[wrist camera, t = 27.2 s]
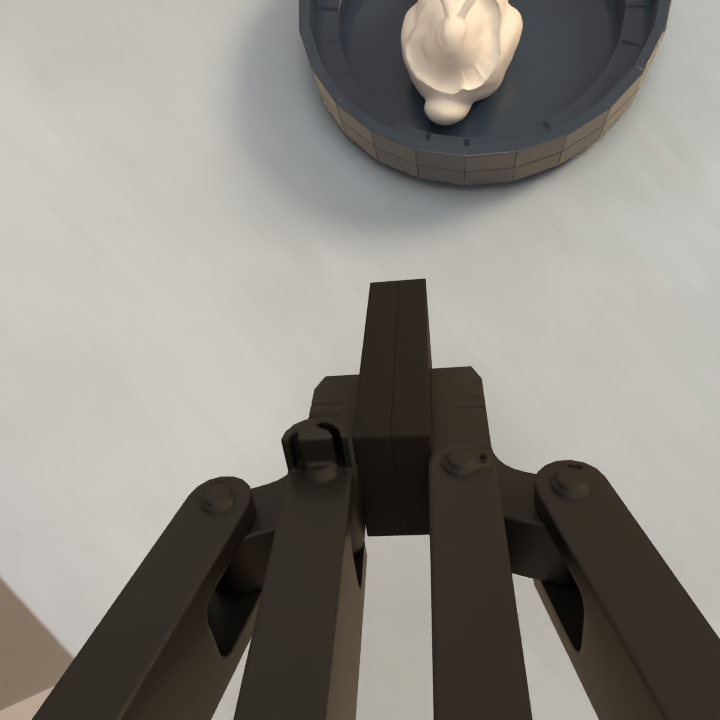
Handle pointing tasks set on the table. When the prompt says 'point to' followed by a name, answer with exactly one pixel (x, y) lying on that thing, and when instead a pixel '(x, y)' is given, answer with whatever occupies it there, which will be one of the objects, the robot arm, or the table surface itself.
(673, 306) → the table surface
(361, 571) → the robot arm
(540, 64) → the bowl
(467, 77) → the rabbit figurine
